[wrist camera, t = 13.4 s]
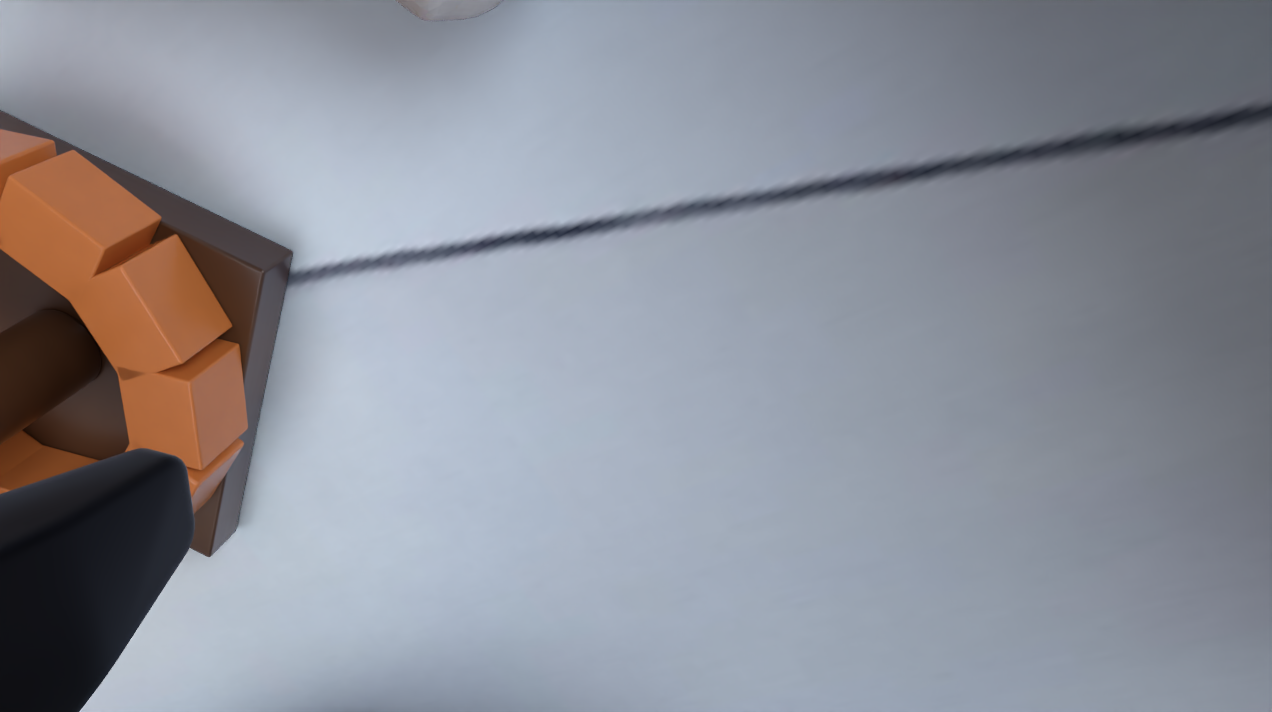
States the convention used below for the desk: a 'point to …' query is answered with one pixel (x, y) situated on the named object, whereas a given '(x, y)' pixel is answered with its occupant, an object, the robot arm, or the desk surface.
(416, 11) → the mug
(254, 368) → the post
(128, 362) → the ring
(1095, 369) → the desk surface
